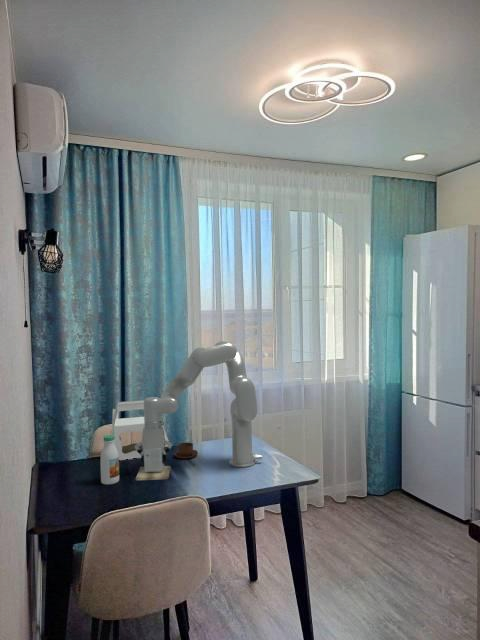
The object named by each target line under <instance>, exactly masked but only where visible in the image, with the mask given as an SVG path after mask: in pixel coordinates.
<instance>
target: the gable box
mask: <svg viewBox="0 0 480 640" xmlns="http://www.w3.org/2000/svg"><path fill="white" fill-rule="evenodd" d="M144 400H145V399H141V400H128V401H118V403H117V407H116V408H112V417H111V418H112V419H111V423H112V425H111V427H112V431H111V432H112V435H114V437H115V439H114V440H115V441H114V444H115V447H116V449H117V451H118V455H119V460H120V461H127V460H126V459H128V460H134V459H133V458H137V459H141V455H140V454H139V453H138V452H137V450H136V449H135V445H137V444H138V443H139V442H138V443H134V442H133V443H130V444H128V445H123V444H122V441H121V440H122V438H121V434H122V433H124V432H126V433H127V432H143V428H144V415H143V416H132V417H121V418H119V413H120V412H125V411H126V412H127V411H137V410H144ZM139 449H141V450H142V445H141V446H139Z"/></svg>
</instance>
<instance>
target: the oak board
mask: <svg viewBox="0 0 480 640" xmlns="http://www.w3.org/2000/svg"><path fill="white" fill-rule="evenodd" d="M171 469H172V467H171V465H164V468H163V470H162V471H161V472H145V469H144V466H140V467H139V470H138V472H137V475H136V477H135V481H153V480H154V481H155V480H169V477H170V474H171V473H170V472H171Z"/></svg>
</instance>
